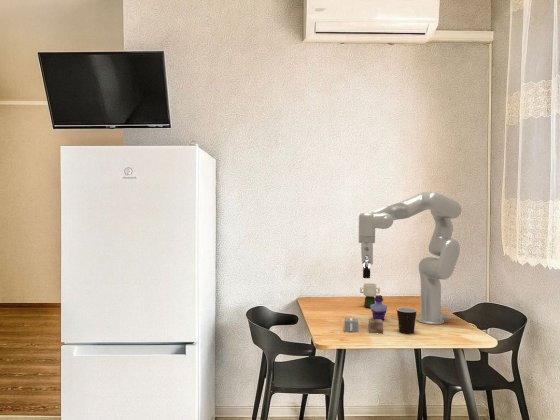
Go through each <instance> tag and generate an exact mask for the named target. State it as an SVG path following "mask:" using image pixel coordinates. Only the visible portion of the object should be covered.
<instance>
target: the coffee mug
mask: <svg viewBox="0 0 560 420" xmlns="http://www.w3.org/2000/svg"><path fill="white" fill-rule="evenodd" d="M396 314H397V322H398V332H399V333H400V334H404V335H412V334H414V333H415V329H416V328H415V326H416V321H417V309H415V308H410V307H398V308H397V309H396Z"/></svg>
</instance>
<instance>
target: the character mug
mask: <svg viewBox="0 0 560 420" xmlns="http://www.w3.org/2000/svg"><path fill="white" fill-rule="evenodd" d="M359 289H360V290H359V293H360V294H363V296H365V297H364V305H363V306H364V307H365V308H370V309H371V307H370V305H371V304H376V301H374V298H375V297H376V295H377V294H380V293H381V292H380V291H381V288H380V287H378V286H377V284H376V283H371V282H367V283H363V287H362V286H361V287H360V288H359Z"/></svg>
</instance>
